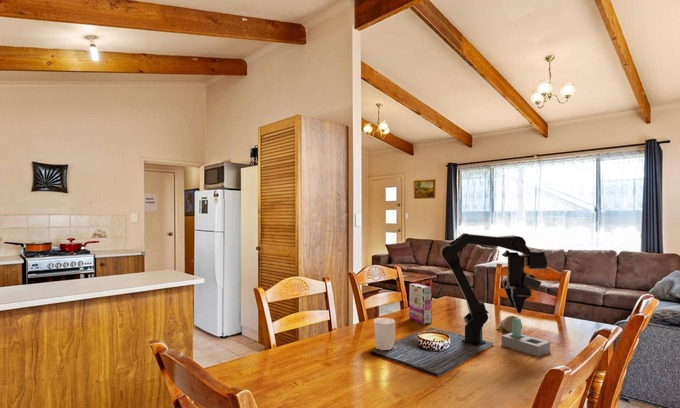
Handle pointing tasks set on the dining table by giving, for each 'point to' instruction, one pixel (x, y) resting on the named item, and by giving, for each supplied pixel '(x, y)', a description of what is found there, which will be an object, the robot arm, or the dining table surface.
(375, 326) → the white cup
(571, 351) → the dining table surface
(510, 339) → the block
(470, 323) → the robot arm
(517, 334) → the peg
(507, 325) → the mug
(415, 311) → the candy bar box
